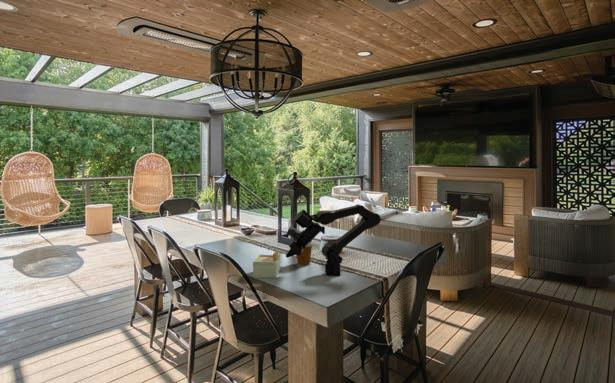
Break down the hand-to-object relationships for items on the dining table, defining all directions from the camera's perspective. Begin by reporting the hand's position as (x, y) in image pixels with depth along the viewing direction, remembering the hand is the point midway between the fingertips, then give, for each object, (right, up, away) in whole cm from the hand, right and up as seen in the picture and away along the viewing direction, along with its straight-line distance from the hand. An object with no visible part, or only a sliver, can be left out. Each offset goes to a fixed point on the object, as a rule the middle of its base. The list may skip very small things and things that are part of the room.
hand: (286, 256), depth 174 cm
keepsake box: (-9, -8, +2) cm, 13 cm away
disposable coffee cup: (+8, -7, +18) cm, 21 cm away
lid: (-9, -2, +1) cm, 9 cm away
